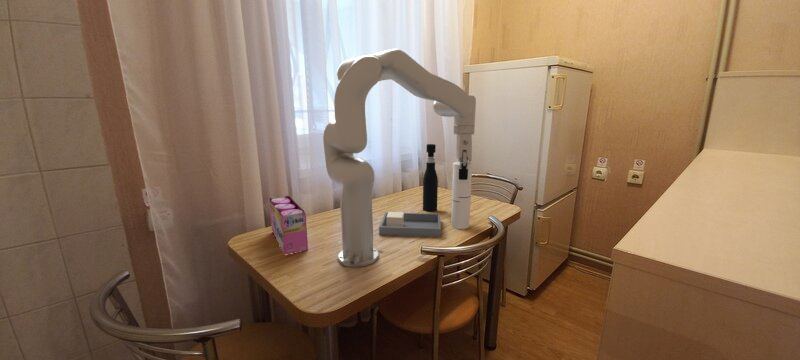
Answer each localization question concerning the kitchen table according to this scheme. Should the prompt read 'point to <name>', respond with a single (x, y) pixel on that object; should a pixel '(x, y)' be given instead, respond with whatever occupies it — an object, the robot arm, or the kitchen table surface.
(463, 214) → the cylindrical container
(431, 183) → the wine bottle
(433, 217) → the tray
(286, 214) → the gum box
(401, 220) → the cream box
